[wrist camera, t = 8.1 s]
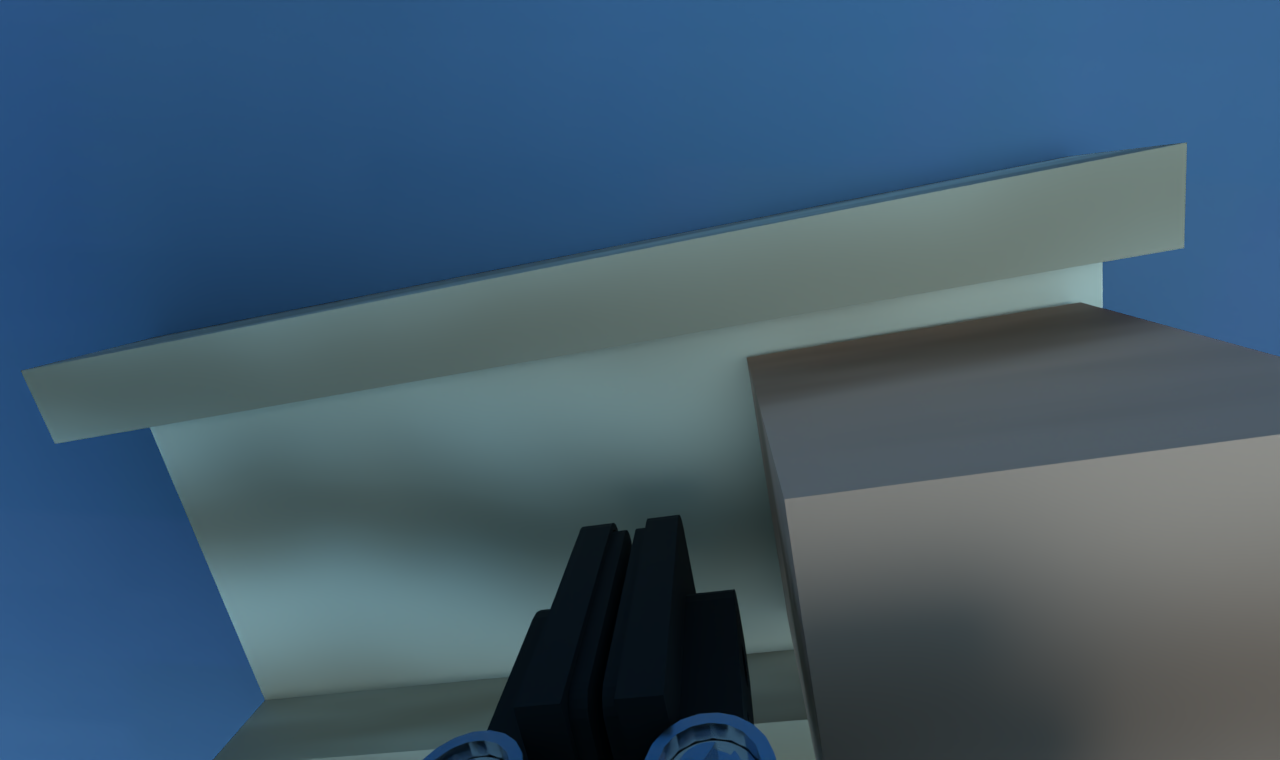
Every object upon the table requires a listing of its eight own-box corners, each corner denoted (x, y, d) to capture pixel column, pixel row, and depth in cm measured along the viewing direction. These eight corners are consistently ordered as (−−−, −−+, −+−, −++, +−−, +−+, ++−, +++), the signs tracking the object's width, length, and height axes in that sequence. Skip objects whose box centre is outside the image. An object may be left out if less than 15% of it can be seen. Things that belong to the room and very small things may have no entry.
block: (746, 357, 12) (784, 499, 6) (1080, 302, 11) (1472, 409, 6) (788, 620, 14) (848, 925, 8) (1085, 589, 13) (1395, 909, 7)
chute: (154, 337, 15) (20, 370, 12) (1069, 156, 12) (1186, 142, 9) (307, 716, 18) (230, 818, 15) (1079, 646, 15) (1170, 756, 12)
